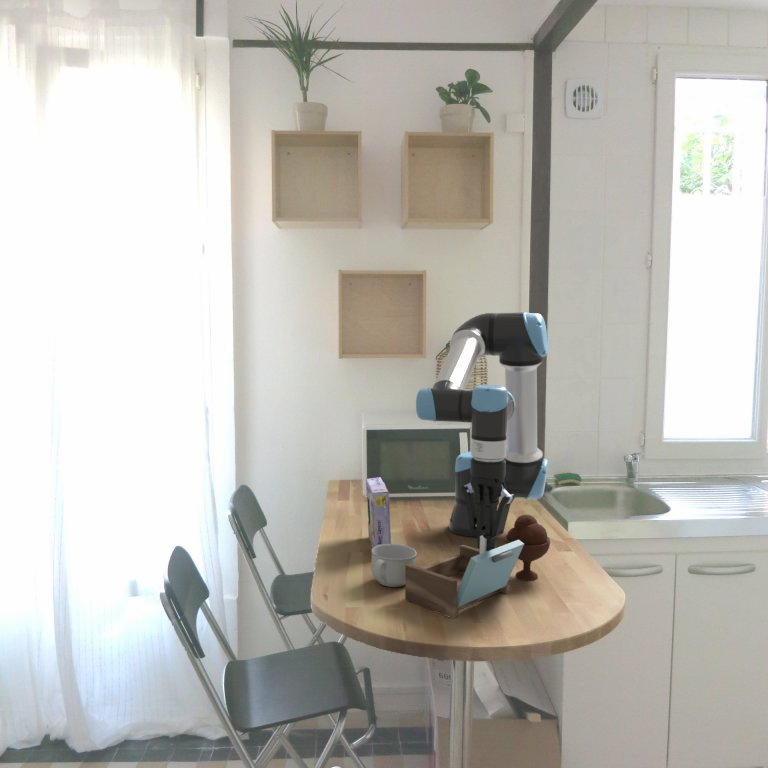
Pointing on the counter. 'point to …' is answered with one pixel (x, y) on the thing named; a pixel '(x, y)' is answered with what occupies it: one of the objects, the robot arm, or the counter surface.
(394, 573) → the teacup
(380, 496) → the cake pan box
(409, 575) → the drawer box
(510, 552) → the pale blue slab
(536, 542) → the ice cream bowl
